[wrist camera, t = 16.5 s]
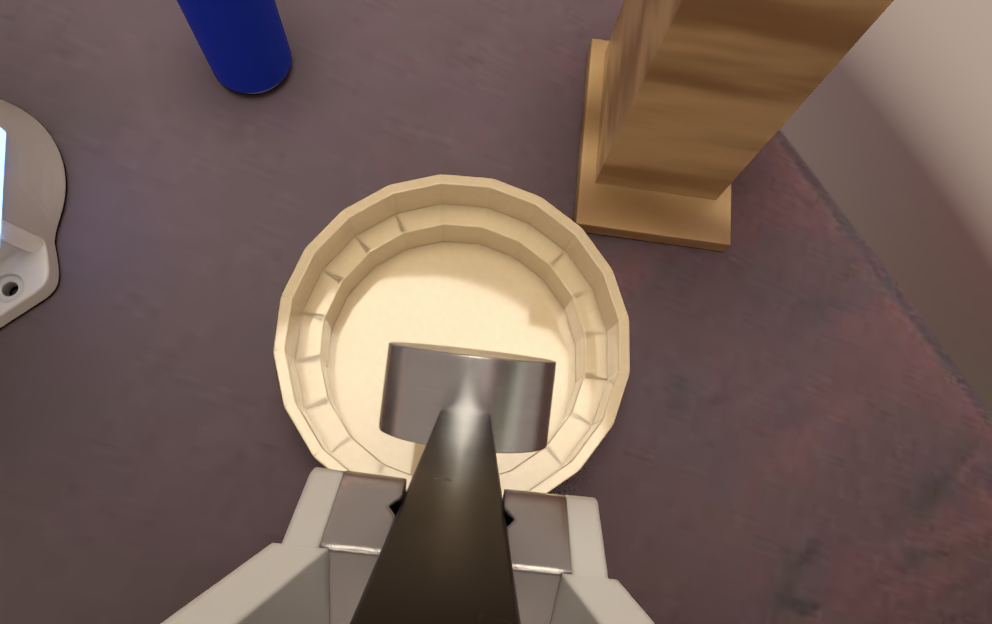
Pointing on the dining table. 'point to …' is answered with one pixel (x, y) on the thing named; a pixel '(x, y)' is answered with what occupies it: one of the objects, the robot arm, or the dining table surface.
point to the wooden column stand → (697, 106)
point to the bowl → (450, 319)
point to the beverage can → (241, 41)
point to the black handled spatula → (455, 482)
